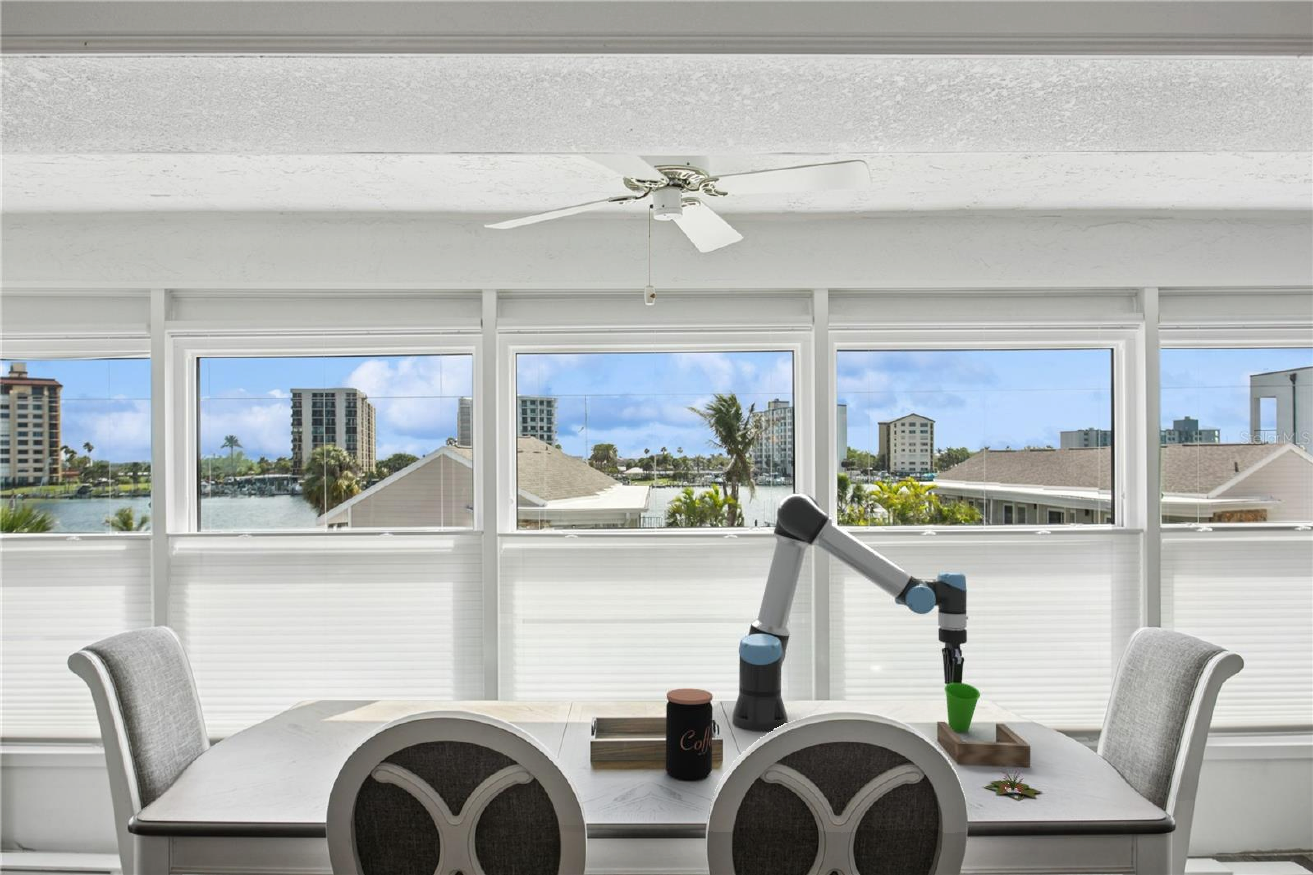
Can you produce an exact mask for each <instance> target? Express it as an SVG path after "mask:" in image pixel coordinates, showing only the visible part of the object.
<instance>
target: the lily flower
mask: <svg viewBox="0 0 1313 875" xmlns="http://www.w3.org/2000/svg"><path fill="white" fill-rule="evenodd" d="M1010 772H1011V773H1010V774H1013V773H1012V771H1010ZM1001 773H1002V774H1005V775H1004V777H1003V778H1002V779H1003V780H998V779H997V780H994V781H993V780H992V781H991V783H992V784H988V785H986V786H983V788H985V789H989V790H993V791H995V792H996V795H995V796H996V797H997V796H1000V795H1004V794H1006V795H1007V796H1009V797H1011V798H1013V799H1015V800H1016V801H1018V802H1019V801H1020V800H1022V799H1023V798H1024V797H1025V795H1026V796H1029V797H1030V798H1034V799H1035V800H1038V799H1037V797H1036V795H1035V794H1037V793H1042V791H1041V790H1037V789H1036V788H1033V787H1030V785H1029V784H1025V783H1023V782H1022V781H1023V780H1024V778H1023V777H1022V778H1020V779H1019V780H1018V781H1017V779H1018V778H1019V777H1020V774H1021V772H1018V773H1017V770H1015V773H1014V775H1013V776H1012V777H1011V775H1009V773H1008V772H1007V771H1006V770H1005V769H1003V771H1001ZM1008 783H1009V784H1008ZM1005 787H1007V788H1006V789H1005ZM1009 788H1011V789H1010V790H1011V791H1012V792H1011V791H1008V789H1009ZM1015 788H1017V789H1018V790H1017V789H1015ZM1015 790H1017V791H1018V792H1017V793H1018V794H1019V795H1018V796H1017V797H1018V798H1017V797H1016V796H1014V795H1013V794H1014V792H1015ZM1019 792H1021V793H1019ZM1020 794H1021V795H1020ZM1015 797H1016V798H1015Z"/></svg>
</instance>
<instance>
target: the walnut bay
mask: <svg viewBox="0 0 1313 875" xmlns="http://www.w3.org/2000/svg"><path fill="white" fill-rule="evenodd" d="M936 726H937V727H936V728H937V729H936V734H937V735H936V742H938V744H940V747H942V748H943V750H944V751H945V752H946V753H947V754H948V755H949V756H950V758H951V759H952V761H954V762H955V764H956V765H958V766H979V767H980V766H984V767H985V766H986V767H1007V766H1022V767H1021V768H1031V745H1030V744H1028V743H1027V742H1026V741H1025V740H1024V739H1023V738H1022V737H1020V736H1019V735H1018V734H1017V733H1015V732H1014V731H1013V730H1012V729H1011V728H1010V727H1009V726H1008V725H1006V724H1005V723H996V724H995V742H993V741H970V740H968V741H967V740H963V739H962V738H961V737H960V736H959V735H958V734H957V733H956V731H954V730H952V729H951V728H950V726H949V723H947V722H946V721H937V722H936ZM1023 766H1024V767H1023Z"/></svg>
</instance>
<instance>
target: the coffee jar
mask: <svg viewBox="0 0 1313 875" xmlns="http://www.w3.org/2000/svg"><path fill="white" fill-rule="evenodd" d="M666 699H667V700H668V702H667V703H666V705H665V706H666V707H665V711H666V712H665V713H666V714H665V717H666V718H665V770H666V772H667V774H668V776H669V777H670V778H673V779H674V780H679V781H685V782H696V781H701V780H702V781H703V780H704V779H707V778H708V777H709V776H710V774H711V773H712V770H713V705H712V704H713V703H712V702H711V701H712V700H713V693H711V692H710V691H707V690H704V689H699V688H678V689H672V690H669V691H668V692H666Z"/></svg>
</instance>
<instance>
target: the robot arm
mask: <svg viewBox="0 0 1313 875" xmlns="http://www.w3.org/2000/svg"><path fill="white" fill-rule="evenodd" d="M819 506H820V505H819V504H818V502H817V501H816V500H815V498H813V497H812V496H811V495H809V494H806V493H802V492H795V493H791V494H789V495H787V496H786V497H785V498H784V499H782V501H781V502H779V505H778V508H777V511H776V515H777V516H776V517H777V518H776V522H775V526H774V531H773V536H774V537H775V539H776V544H775V548H774V551H773V556H772V559H771V560H772V561H771V564H770V568H769V573H768V577H767V579H766V580H767V581H766V584H765V588H764V592H763V596H762V601H761V604H760V607H759V608H760V609H759V613H758V617H757V618H756V619H755V620H754V621H751V624H750V628H749V631H748V635H746V636H743V637H742V638H741V639H740V642H739V647H738V655H739V667H738V668H739V670H738V672H739V673H738V674H739V675H738V676H739V677H738V678H739V681H738V683H739V684H738V690H739V692H738V697H737V700H736V702H735V706H734V708H733V712H732V723H733V725H735V726H737V727H738V728H742V729H744V730H750V731H757V732H758V731H761V732H762V731H763V732H768V731H769V732H770V731H771V730H772V731H774V730H773V729H774V728H777V727H779V726H781V725H783V724H784V723H787V724H788V714H787V711H786V710H787V709H786V708H785V704H784V702H783V701H784V700H783V699H782V698H783V697H782V668H783V663H784V662H785V661H784V660H785V658H786V654H787V653H786V652H787V647H788V644H789V638H790V635H791V633H790V630H789V629H788V628H787V625H788V622H789V617H790V614H791V613H790V612H791V610H792V604H793V601H794V597H795V593H796V589H797V585H798V581H799V578H800V573H801V569H802V565H803V561H804V557H805V554H806V553H805V552H806V549H807V548H808V547H810V546H812V547H813V546H818V547H820V548H821V549H822V550H824V551H825V552H827V553H828V554H829V555H832V557H834V558H835V559H837V560H838V561H840V562H841V563H843V564H845V565H846V566H848V568H851V569H852V570H853V571H854V572H856V573H858V574H859V575H861V576H863V577H864V578H865V579H867V580H868V581H870V582H871V583H873V584H874V585H876V586H877V587H878V588H880V589H881V590H882V591H884V592H886V593H887V594H889V595H890V596H892V597H893V598H894V603H896V604H897V605H903V606H906V607H908V609H909V610H910V611H911V612H913V613H915V614H917V615H926V614H929V613H930V612H931V611H932V610H934V608H935V607H937V608H938V611H937V612H938V613H937V619H938V620H937V622H938V623H937V625H938V626H939V628H937V630H938V641H939V642H941V643H943V644H944V647H943V648H941V653H942V660H943V661H942V662H943V676H944V684H945V685H948V684H950V683H963V671H964V670H963V669H964V662H965V658H964V657H963V656H962V655H963V654H962V653H963V651H962V649H961V644H962V645H963V644H966V643H967V641H968V633H967V632H968V631H967V629H966V628H967V625H968V624H967V620H969V616H968V615H967V598H968V597H967V595H968V594H967V592H968V589H967V581H966V578H967V577H966V575H964V574H963V573H962V572H956V571H940V572H938V574H937V578H916V577H914V576H912V575H911V574H910V573H908V572H907V571H905V570H904V569H902V568H900V567H899V566H898V565H896V564H895V563H893V562H892V561H891V560H888V559H887V558H886V557H885V556H883V555H882V554H879V553H878V552H877V551H876V550H874V549H873V548H871V547H869V546H868V545H866V544H865V543H863V541H861V540H860V539H857V538H856V537H855V536H853V535H852V534H850V533H849V532H848V531H846V530H844V529H842V528H841V527H840V526H838V525H837V524H835V522H833V519H832V517H831V516H830V515H829V514H827V513H826V512H824V511H823V510H822V509H821V508H820V507H819Z"/></svg>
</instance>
